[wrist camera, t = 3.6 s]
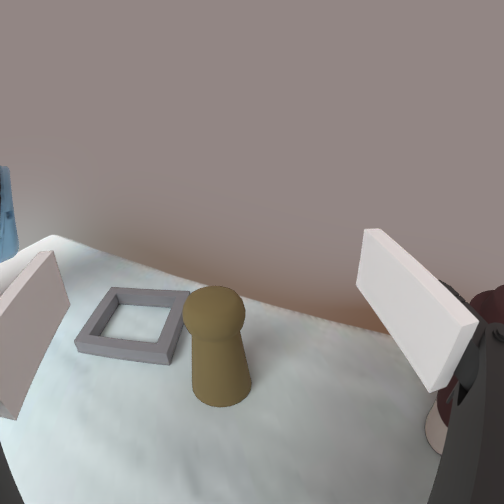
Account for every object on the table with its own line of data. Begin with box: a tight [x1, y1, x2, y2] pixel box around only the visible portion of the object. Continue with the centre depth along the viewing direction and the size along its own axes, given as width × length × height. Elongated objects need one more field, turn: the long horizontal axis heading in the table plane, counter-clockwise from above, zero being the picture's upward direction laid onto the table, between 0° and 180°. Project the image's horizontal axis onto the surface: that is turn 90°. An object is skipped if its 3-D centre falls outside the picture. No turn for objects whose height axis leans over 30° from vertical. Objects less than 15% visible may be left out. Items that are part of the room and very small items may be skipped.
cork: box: [182, 286, 252, 407], centre depth 27 cm, size 6×6×11 cm
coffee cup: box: [425, 285, 504, 455], centre depth 18 cm, size 10×10×15 cm
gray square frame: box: [74, 287, 190, 365], centre depth 37 cm, size 12×12×2 cm
